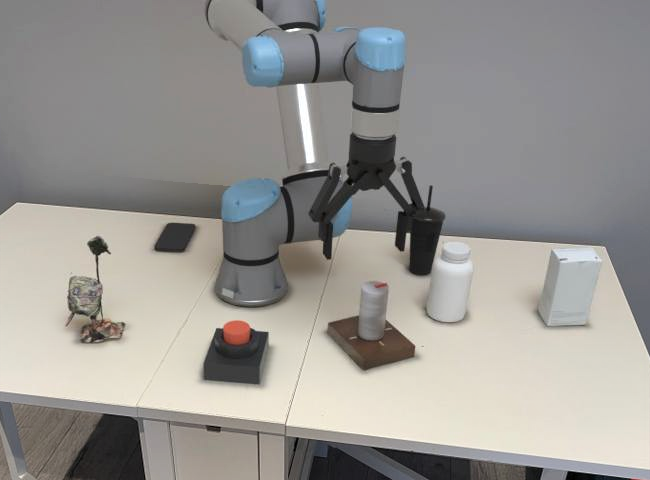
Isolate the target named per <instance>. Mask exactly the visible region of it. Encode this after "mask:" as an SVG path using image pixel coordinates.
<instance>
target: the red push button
mask: <svg viewBox="0 0 650 480" xmlns="http://www.w3.org/2000/svg"><path fill="white" fill-rule="evenodd" d="M222 328H223V336H224V341H225V342H227V343H229V344H235V345H239V344H244V343H247V342H248V341H249V340H250V328H251V326H250V324H249V323H248V322H247V321H245V320H239V319H237V320H230V321H228V322H226V323H224V324H223V327H222Z"/></svg>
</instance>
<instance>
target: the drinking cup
mask: <svg viewBox="0 0 650 480" xmlns="http://www.w3.org/2000/svg"><path fill="white" fill-rule="evenodd" d="M433 188H434V186H433V185H429V187H428V195H427V202H426V203H427V204H426V206H424V207H425V208H424V210H423V211H422V212H420V211H418V212H416V216H415V217H414V218H413V219H412V227H411V231H410V232H409V267H408V268H409V269H408V271H409V272H410V273H411V274H413V275H415V276H421V277H424V276H428V275H430V274H432V268H433V262H434V260H435V257H436V252H437V249H438V245H439V241H440V236H441V232H442V229H443V224H444V221H445V220H446V214H445V212H443V211H442V210H440V209H438V208H435V207H432V206H431V205H432V203H431V202H432V196H433Z"/></svg>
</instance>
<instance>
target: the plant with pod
mask: <svg viewBox="0 0 650 480" xmlns="http://www.w3.org/2000/svg"><path fill="white" fill-rule="evenodd" d="M86 245H87V247H88V248H89V250H90V252H91V254H92V255H94V256H95V258H94V259H95V260H94V261H95V264H96V265H95V267H96V268H95V269H96V271H95V272H96V278H93V277H90V276H83V275H73V276H70V278H69V281H68V289H67V294H68V295H67V296H66V297H67V298H66V299H67V308H68V311H69V312H71V313H70V315H69V317H68V318H67V321H66V322H65V324H64V327H68V326H69V324H70V323H71V322H72V320H73V319H74V316H75V315H78V316H85V317H88V318H89V319H90V321H91V323H86V324H84V325H82V327H81V331H80V332H81V333H80V339H79V341H80V342H82V343H99V342H102V341H104V340H105V339H107V340H110V339H111V338H112V339H114V338H115V339H121V337H123V334H124V333H123V332H124V331H125V330H124V329H125V326H126V323H125V322H123V321H121V322H120V321H119V322H114V321H112V320H111V318H104V315H103V305H102V299H103V297H102V295H103V294H104V293H103V292H104V289H103V287H104V286H103V283H102V282H101V281H100V274H99V273H100V272H99V256H100V255H102V254H104V253H107V254H108V255H112V252H110V250H109V245H108V244H107V242H106V241H105V239H104V238H103V237H102V236H101V235H96V236H94V237H92V238H90V239H89V240H88V241H87V244H86ZM69 274H70V275H72V274H73V272H70V273H69ZM99 314H100V315H101V319H98V315H99Z"/></svg>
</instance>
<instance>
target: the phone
mask: <svg viewBox="0 0 650 480" xmlns="http://www.w3.org/2000/svg"><path fill="white" fill-rule="evenodd" d="M196 227H197V226H196V224H195V223H187V222H167V223H166V225H165V226H164V228H163V229H162V232H161V233H160V235H159V237H158V239H157V240H156V242H155V243H154V246H153V248H154V250H155V251H160V252H161V251H162V252H176V253H177V252H178V253H179V252H181V253H182V252H185V250H186V248H187V247H188V244H189V243H190V241H191V238H192V237H193V235H194V233H195V230H196Z"/></svg>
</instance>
